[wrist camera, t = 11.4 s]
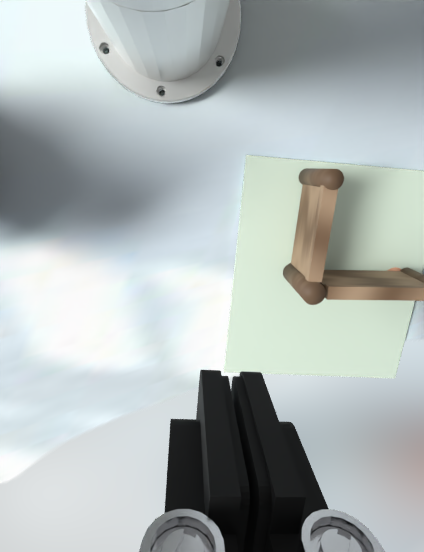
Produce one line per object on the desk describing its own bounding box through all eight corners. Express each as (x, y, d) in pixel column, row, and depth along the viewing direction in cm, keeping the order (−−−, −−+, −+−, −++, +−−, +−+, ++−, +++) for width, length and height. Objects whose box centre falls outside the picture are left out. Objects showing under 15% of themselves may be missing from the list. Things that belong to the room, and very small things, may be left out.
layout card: (246, 155, 34) (246, 154, 34) (445, 173, 36) (448, 173, 35) (223, 370, 40) (224, 372, 40) (393, 376, 42) (395, 378, 42)
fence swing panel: (304, 281, 37) (332, 309, 30) (306, 264, 37) (335, 288, 30) (411, 283, 38) (463, 310, 31) (415, 266, 38) (468, 290, 30)
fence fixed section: (297, 167, 34) (323, 167, 28) (318, 169, 34) (348, 169, 28) (281, 280, 37) (301, 304, 31) (300, 281, 38) (323, 305, 31)
